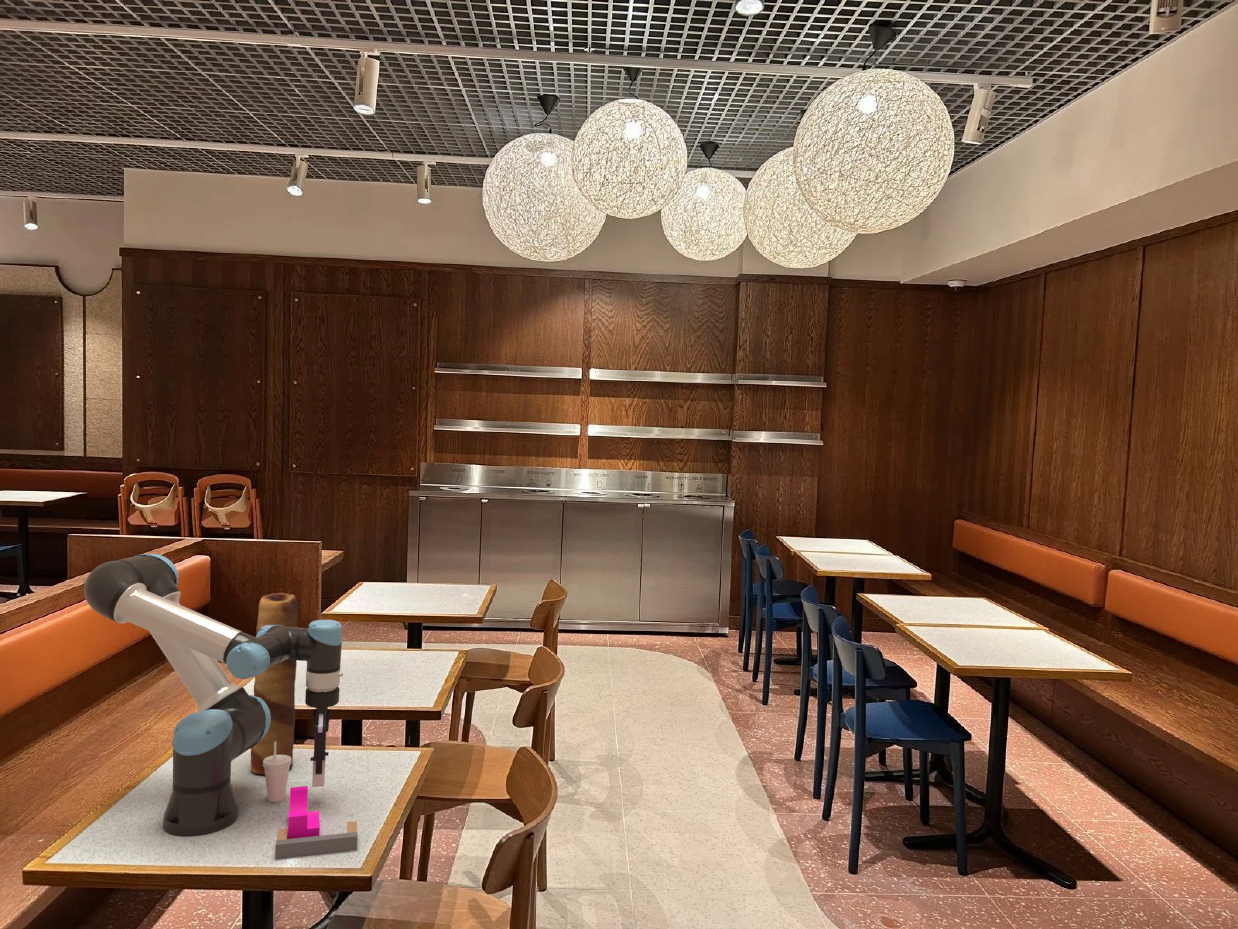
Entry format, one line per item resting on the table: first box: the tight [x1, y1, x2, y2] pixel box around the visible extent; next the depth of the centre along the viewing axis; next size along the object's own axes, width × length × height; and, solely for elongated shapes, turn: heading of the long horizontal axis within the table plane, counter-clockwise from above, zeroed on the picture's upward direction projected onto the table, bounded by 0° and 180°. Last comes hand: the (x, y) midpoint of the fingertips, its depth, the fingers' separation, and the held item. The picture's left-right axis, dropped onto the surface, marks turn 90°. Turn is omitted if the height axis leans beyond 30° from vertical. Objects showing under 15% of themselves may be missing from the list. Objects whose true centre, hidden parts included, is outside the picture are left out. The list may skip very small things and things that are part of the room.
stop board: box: [274, 821, 358, 860], centre depth 180 cm, size 16×7×4 cm, turn 108°
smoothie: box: [263, 741, 292, 803], centre depth 202 cm, size 6×6×14 cm
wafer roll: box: [250, 592, 298, 776], centre depth 218 cm, size 10×11×45 cm
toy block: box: [287, 785, 321, 839], centre depth 186 cm, size 15×6×8 cm, turn 20°
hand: (318, 785), depth 201 cm, fingers closed
